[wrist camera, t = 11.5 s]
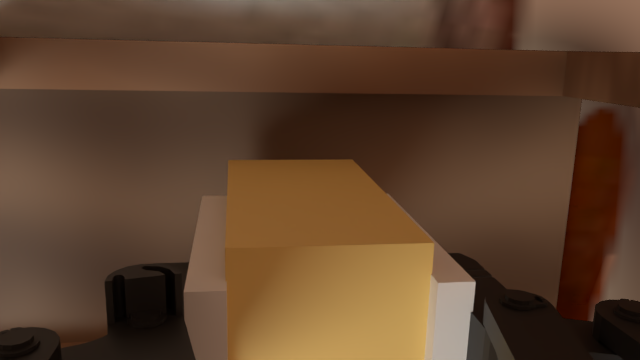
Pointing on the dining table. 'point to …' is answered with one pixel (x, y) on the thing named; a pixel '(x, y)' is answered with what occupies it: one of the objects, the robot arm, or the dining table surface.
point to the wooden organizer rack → (277, 151)
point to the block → (321, 265)
